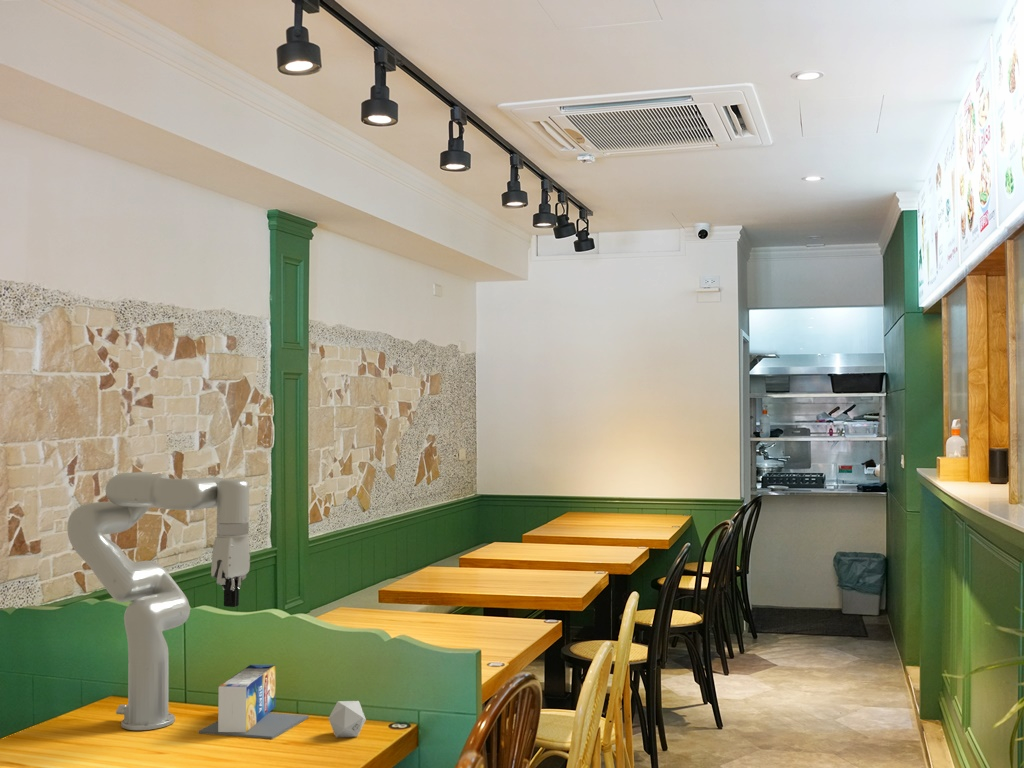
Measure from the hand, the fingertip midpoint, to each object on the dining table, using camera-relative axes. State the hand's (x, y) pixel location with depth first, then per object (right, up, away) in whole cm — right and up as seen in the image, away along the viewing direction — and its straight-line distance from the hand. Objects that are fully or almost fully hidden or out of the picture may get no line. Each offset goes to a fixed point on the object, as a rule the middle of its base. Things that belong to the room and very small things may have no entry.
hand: (231, 605), depth 241 cm
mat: (+5, -31, +5) cm, 31 cm away
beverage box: (+1, -24, -3) cm, 24 cm away
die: (+29, -30, -4) cm, 42 cm away
